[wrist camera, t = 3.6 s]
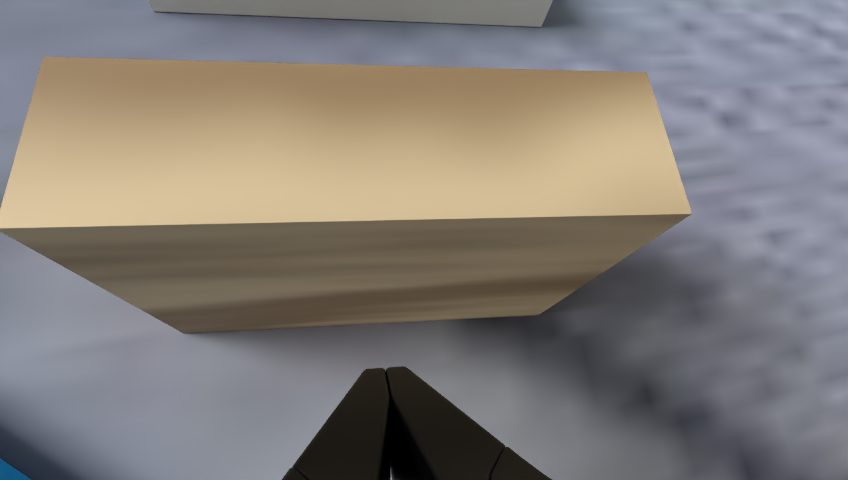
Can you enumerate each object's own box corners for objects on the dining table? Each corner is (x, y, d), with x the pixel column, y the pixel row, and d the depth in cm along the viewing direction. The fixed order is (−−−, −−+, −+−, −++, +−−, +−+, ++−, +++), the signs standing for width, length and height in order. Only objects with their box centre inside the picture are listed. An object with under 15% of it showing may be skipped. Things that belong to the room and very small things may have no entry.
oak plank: (538, 315, 20) (691, 213, 11) (184, 333, 18) (-6, 228, 9) (523, 228, 21) (647, 72, 12) (195, 236, 19) (42, 56, 10)
